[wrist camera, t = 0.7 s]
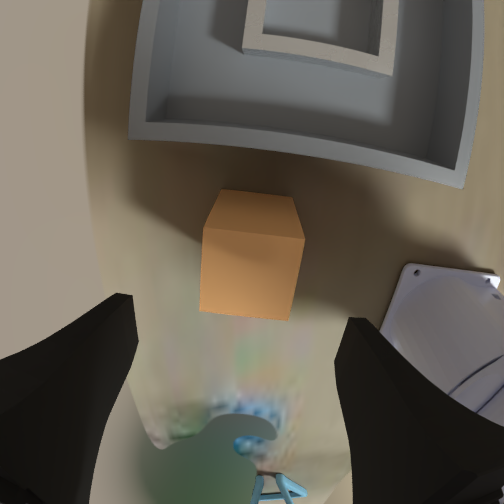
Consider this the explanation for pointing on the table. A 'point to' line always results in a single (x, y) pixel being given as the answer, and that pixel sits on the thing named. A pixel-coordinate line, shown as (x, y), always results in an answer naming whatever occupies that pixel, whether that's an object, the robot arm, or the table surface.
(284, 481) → the chair
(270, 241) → the orange brown rectangular block
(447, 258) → the table surface
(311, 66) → the walled box
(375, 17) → the socket
